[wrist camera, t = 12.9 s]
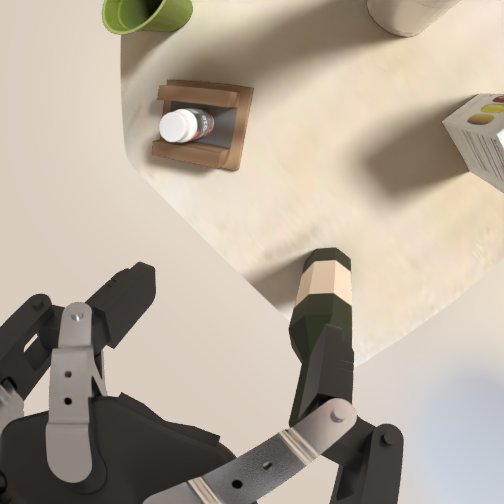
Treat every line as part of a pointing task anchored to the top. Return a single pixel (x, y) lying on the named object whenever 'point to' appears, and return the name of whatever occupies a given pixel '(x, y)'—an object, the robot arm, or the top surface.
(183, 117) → the pill bottle
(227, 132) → the cradle
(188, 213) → the top surface
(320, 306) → the wine bottle
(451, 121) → the supplement box
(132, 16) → the plant pot
